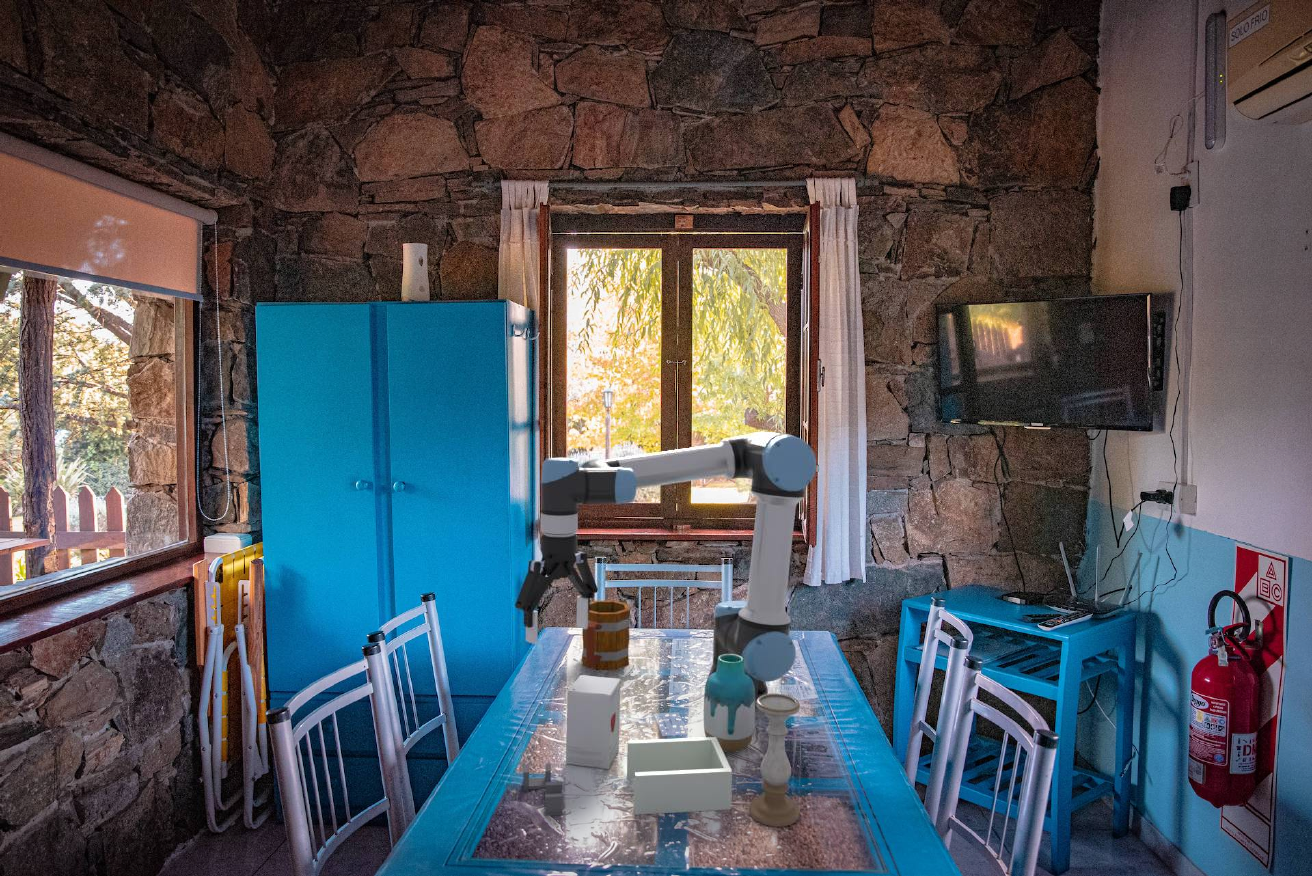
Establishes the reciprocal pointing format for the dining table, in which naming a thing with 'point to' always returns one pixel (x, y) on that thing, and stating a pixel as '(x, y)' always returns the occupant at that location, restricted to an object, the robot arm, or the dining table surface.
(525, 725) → the dining table surface
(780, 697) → the candle holder
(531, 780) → the clip
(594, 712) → the supplement box
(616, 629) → the mug
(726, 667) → the vase
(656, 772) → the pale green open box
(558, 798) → the clip
